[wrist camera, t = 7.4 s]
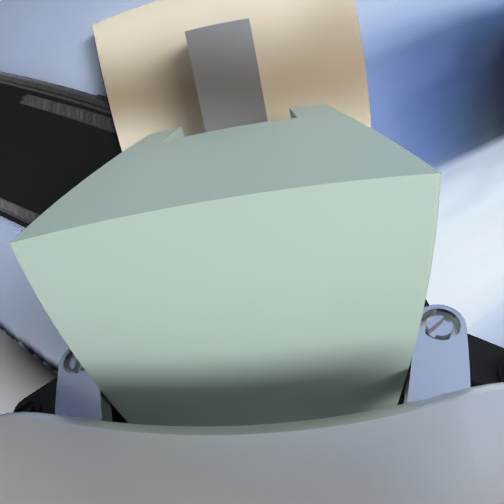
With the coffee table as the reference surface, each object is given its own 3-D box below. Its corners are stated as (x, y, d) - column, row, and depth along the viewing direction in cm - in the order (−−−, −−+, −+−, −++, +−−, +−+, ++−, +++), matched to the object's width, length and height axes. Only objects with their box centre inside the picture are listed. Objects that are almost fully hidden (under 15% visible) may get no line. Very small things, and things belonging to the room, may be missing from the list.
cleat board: (102, 26, 10) (66, 21, 8) (342, -21, 9) (363, -41, 6) (207, 364, 20) (201, 401, 18) (361, 347, 19) (371, 384, 17)
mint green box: (149, 134, 10) (9, 243, 4) (325, 103, 10) (440, 172, 3) (220, 360, 16) (206, 497, 10) (338, 347, 16) (363, 486, 9)
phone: (152, 281, 16) (-50, 190, 13) (157, 269, 17) (-39, 183, 14) (205, 135, 12) (-40, 65, 9) (209, 130, 13) (-27, 63, 10)
